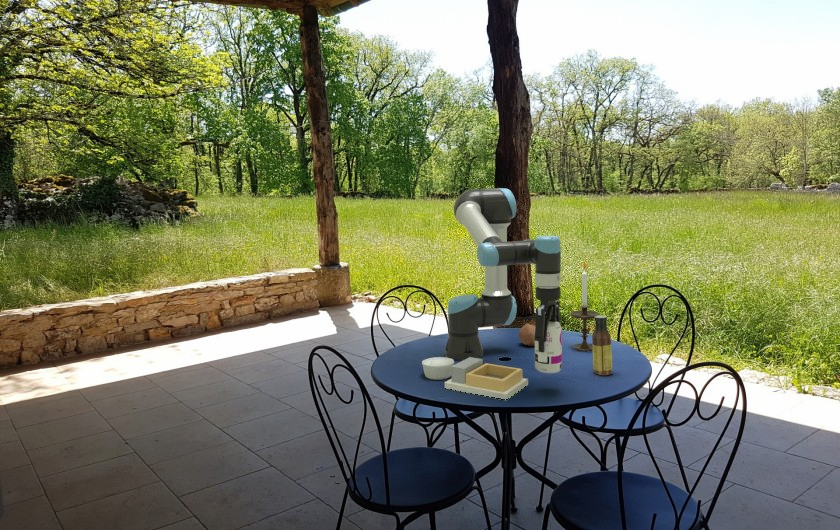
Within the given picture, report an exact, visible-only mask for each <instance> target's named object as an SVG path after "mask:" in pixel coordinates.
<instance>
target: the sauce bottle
mask: <svg viewBox="0 0 840 530" xmlns="http://www.w3.org/2000/svg"><path fill="white" fill-rule="evenodd" d="M593 319H594V323H595V324H594V325H595V327H594V331H593V333H592V334H591V338H592V340H591V341H592V349H593V351H592V368H593V372H594V374H595V375H598V376H610V375H612V374H613V352H612V348H613V347H612V336H611V333H610V331H609V329H608V326H607V324H608V323H607V321H608V317H607V316H606V315H601V314H599V315H598V316H595V317H594V318H593Z"/></svg>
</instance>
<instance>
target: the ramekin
mask: <svg viewBox="0 0 840 530" xmlns="http://www.w3.org/2000/svg"><path fill="white" fill-rule="evenodd" d="M421 365H422V368H423V372H424V376H425V377H426V378H427V379H429V380H434V381H435V380H436V381H437V380H438V381H439V380H440V381H441V380H447V379H449V378H452V374H451V366H453V365H455V360H454V359H451V358H447V357H446V356H445V357H444V356H437V357H436V356H435V357H430V358H426V359H423V360H422V361H421Z"/></svg>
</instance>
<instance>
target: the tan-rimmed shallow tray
mask: <svg viewBox="0 0 840 530" xmlns="http://www.w3.org/2000/svg"><path fill="white" fill-rule="evenodd" d="M523 373H524V372H523V368H520V367H519V368H517V367H510V366H506V365H500V364H499V365H498V364H492V363H487V362H485V363H484V361H483V359H482V358H472V357H469V358H467V359H465V360H460V361H459V362H457V363H454V365H453V366H451V374H452V375H451V378H450V379H448V380H447V381H444V389H445V388H446V389H445V390H450V389H452V391H455V390H456V391H457V392H460V391H461V392H462V393H465V392H466V394H470V393H472V394H471V395H475V394H478V395H477V396H480V395H484V396H483V397H486V396H489V397H488V398H491V397H495V398H494V399H496V398H501V399H505V400H504V401H507V400H506V399H508V398H509V399H510V398H512V397H513V396H515V395H516V394H517V393H519V392H520V391H522V390H523V389H525V388H526V387H527V386H529V378H525V377H524V376H523V375H524V374H523ZM525 386H526V387H525ZM524 387H525V388H524ZM521 389H522V390H521ZM456 391H455V392H456ZM518 391H519V392H518ZM515 393H516V394H515ZM514 394H515V395H514ZM511 396H512V397H511ZM501 399H500V400H501ZM509 399H508V400H509Z"/></svg>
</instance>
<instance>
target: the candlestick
mask: <svg viewBox="0 0 840 530" xmlns="http://www.w3.org/2000/svg"><path fill="white" fill-rule="evenodd" d="M579 308H581V310H573V311H570V313H569V314H570V315H569V317H571V318H573V319H574V318H575V319H581V320H582V328H581V329H580V331H581V333H582V335H581V338H582V343H576V344H573V345H572V349H573V350H574V349H575V350H574V351H576V350H577V351H576V352H581V351H585V352H584V353H588V352H587V351H592V352H593V349H592V344H591V343H588V341H587V338H588V337H589V336H588V335H587V333H589V329H588V328H587V321H588V320H589V319H590V320H591V319H594V317H595V316H598V315H600V313H599V312H598V311H594V310H588V308H590V306H589V305H588V273H587V272H586V261H584V262H583V272H582V273H581V305H580V306H579Z"/></svg>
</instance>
